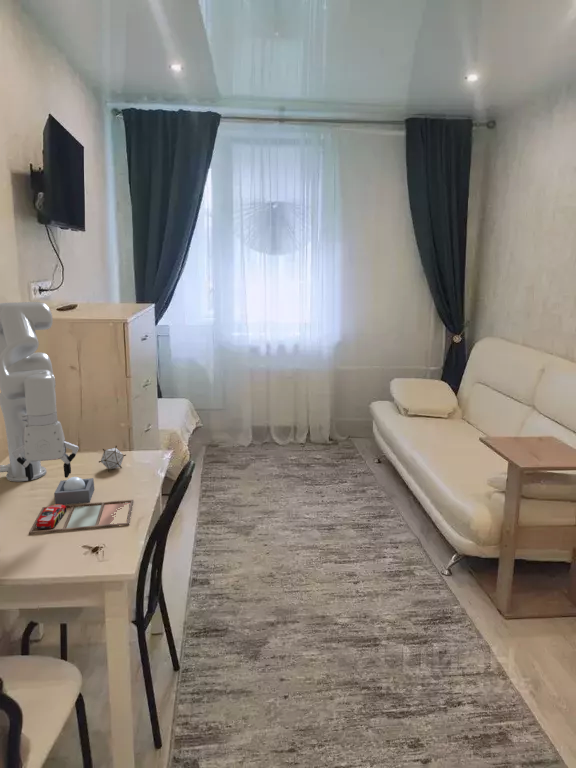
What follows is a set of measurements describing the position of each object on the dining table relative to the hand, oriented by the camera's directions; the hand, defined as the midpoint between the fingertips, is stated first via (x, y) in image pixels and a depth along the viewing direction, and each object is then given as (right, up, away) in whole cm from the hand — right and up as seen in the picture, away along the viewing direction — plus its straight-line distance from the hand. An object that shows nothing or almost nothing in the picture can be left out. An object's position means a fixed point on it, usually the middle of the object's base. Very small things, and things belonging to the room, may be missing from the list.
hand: (49, 477), depth 154 cm
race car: (-1, -13, +3) cm, 14 cm away
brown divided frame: (+8, -12, +5) cm, 16 cm away
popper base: (0, -9, +18) cm, 21 cm away
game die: (+5, -4, +42) cm, 43 cm away
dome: (0, -9, +18) cm, 20 cm away
